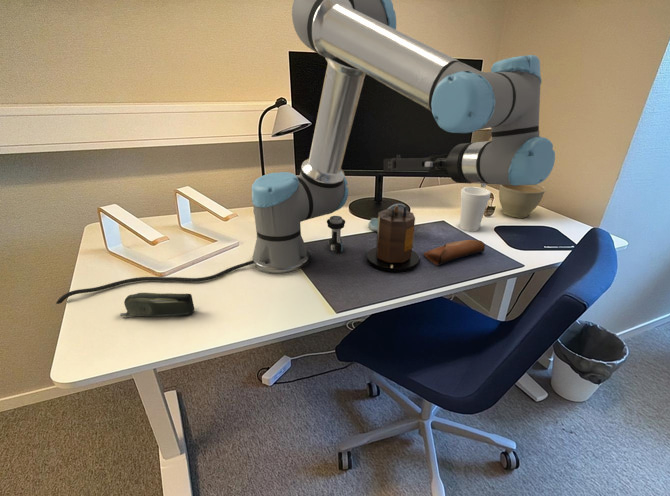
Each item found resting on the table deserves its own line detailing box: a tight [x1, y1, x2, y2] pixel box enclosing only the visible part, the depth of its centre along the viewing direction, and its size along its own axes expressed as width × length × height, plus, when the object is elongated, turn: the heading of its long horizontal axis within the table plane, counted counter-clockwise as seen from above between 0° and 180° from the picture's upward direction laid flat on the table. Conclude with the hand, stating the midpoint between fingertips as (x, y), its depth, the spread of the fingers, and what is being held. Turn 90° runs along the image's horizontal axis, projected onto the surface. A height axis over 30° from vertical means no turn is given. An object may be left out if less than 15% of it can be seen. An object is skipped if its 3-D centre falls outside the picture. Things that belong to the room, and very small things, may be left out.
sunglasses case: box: [423, 239, 486, 266], centre depth 118 cm, size 18×7×7 cm
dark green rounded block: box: [119, 292, 195, 317], centre depth 86 cm, size 5×3×15 cm
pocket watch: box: [368, 202, 406, 233], centre depth 131 cm, size 10×11×15 cm
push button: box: [326, 215, 346, 254], centre depth 116 cm, size 7×5×10 cm
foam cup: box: [459, 186, 492, 232], centre depth 134 cm, size 10×9×13 cm
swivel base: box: [366, 246, 420, 274], centre depth 113 cm, size 15×15×2 cm
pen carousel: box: [375, 205, 416, 263], centre depth 109 cm, size 10×10×14 cm
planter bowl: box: [498, 184, 546, 219], centre depth 149 cm, size 16×16×11 cm
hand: (408, 165), depth 94 cm, fingers open, 13 cm apart
